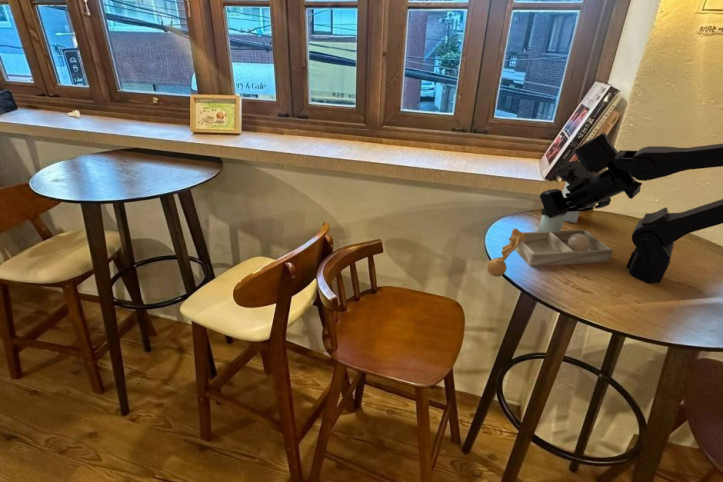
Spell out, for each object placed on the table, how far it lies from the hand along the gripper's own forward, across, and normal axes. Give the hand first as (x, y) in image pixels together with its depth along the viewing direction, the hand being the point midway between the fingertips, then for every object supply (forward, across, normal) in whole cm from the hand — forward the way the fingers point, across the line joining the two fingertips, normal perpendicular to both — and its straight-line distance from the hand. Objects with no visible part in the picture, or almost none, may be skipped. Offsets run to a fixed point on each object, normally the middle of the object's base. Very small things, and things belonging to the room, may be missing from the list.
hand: (549, 211), depth 103 cm
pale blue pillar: (+4, 0, +6) cm, 7 cm away
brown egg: (-3, +1, +12) cm, 12 cm away
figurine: (-3, +24, +13) cm, 28 cm away
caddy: (-2, +5, +11) cm, 13 cm away
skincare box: (+8, -13, +2) cm, 15 cm away
